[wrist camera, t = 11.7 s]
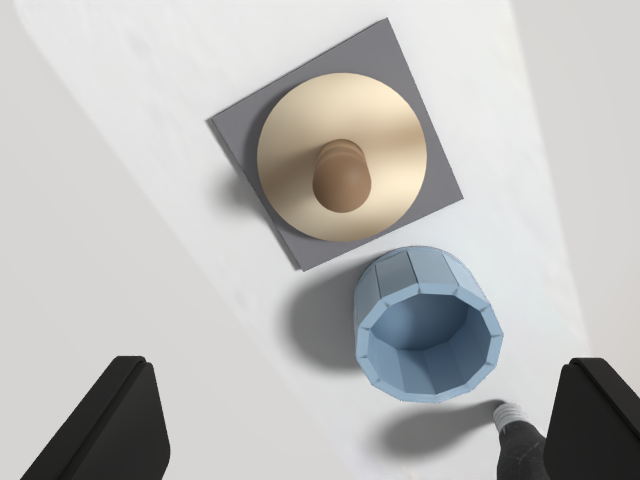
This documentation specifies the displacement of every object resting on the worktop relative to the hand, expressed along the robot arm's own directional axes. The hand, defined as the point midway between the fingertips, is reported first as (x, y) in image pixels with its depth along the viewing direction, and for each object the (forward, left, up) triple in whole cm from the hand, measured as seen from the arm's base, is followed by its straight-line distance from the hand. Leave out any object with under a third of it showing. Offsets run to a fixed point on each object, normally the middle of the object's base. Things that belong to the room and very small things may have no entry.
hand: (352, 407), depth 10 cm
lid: (+1, -1, -20) cm, 20 cm away
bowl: (-8, +6, -20) cm, 23 cm away
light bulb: (-20, +12, -21) cm, 31 cm away
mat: (+1, -1, -20) cm, 20 cm away
